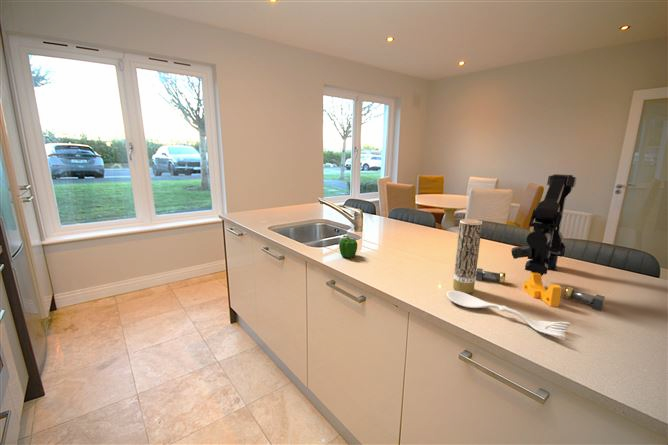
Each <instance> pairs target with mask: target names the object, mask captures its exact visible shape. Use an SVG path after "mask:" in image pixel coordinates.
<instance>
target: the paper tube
mask: <svg viewBox="0 0 668 445" xmlns="http://www.w3.org/2000/svg"><path fill="white" fill-rule="evenodd" d="M458 225H459V226H458V236H457V244H456V245H457V246H456V255H455V264H454V274H453V275H454V276H453V284H452V288H453V290H455V291H460V292H463V293H466V294H472V293H473V292H474V290H475V283H476V271H477V267H478V260H479V254H480V253H479V252H480V243H481V236H482V227H483V221H482V220H479V219H473V218H461V219H459V224H458Z"/></svg>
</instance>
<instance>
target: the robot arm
mask: <svg viewBox="0 0 668 445" xmlns="http://www.w3.org/2000/svg"><path fill="white" fill-rule="evenodd" d="M576 184H577V177H576V176H574V175H573V174H555V173H554V174H551V175H548V178H547V183H546V186H548V188H547V191H546V193H545V197H544V199H543V200H542V201H540V202H538V203H537V205H536V207H535V208H534V209H533V210H532V213H531V217H530V220H529V224H528V227H532V228H533V230H532V231H531V232H530V233H529V234H528V235H527V237H526V243H527V245H523V246H517V247H516V246H514V247H512V248H511V249H510V250H511V256H512V258H513V260H515V259H518V258H519V259H521V258H527V259H528V261H526V263H525V266H524V270H526V271H527V272H537V273H540V274H541V278H542V277H543V276H544V275H547V274H548V270H550V271H551V270H552V271H555V272H556V271H558V265H557V263H558V258H560V257H561V258H562V257H565V256H566V245H565V242H564V235H563V234H562V232H561V227H562V220H563V216H564V210H565V205H566V198H567V196H568V195H569V194H570V193H571V192H572V191H573V188H575V187H576Z"/></svg>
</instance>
